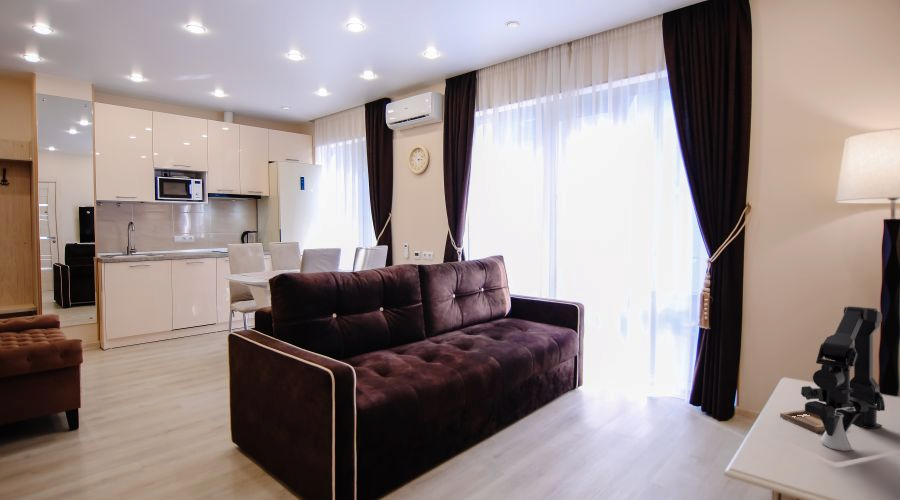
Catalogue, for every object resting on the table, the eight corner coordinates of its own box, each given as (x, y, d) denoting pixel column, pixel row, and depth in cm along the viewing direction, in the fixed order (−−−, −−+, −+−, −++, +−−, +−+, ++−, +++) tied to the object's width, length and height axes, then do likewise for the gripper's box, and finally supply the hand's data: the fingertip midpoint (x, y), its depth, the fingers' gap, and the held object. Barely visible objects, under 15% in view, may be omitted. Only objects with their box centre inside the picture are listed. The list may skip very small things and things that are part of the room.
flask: (858, 452, 131) (858, 419, 131) (829, 450, 132) (830, 417, 132) (841, 441, 138) (842, 409, 138) (814, 439, 140) (815, 408, 139)
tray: (805, 415, 159) (805, 409, 159) (843, 428, 147) (843, 422, 147) (780, 419, 156) (780, 413, 156) (817, 433, 144) (817, 427, 144)
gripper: (829, 373, 145) (828, 420, 146) (787, 378, 140) (786, 427, 140) (870, 383, 134) (869, 434, 135) (825, 389, 129) (824, 443, 130)
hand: (836, 434), depth 135 cm, fingers closed on flask, 5 cm apart
